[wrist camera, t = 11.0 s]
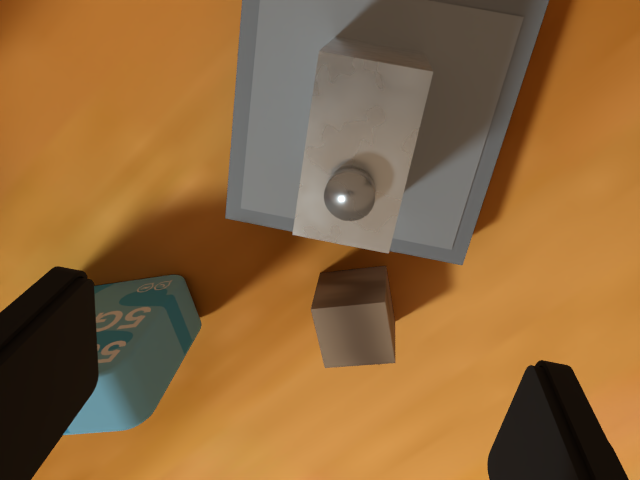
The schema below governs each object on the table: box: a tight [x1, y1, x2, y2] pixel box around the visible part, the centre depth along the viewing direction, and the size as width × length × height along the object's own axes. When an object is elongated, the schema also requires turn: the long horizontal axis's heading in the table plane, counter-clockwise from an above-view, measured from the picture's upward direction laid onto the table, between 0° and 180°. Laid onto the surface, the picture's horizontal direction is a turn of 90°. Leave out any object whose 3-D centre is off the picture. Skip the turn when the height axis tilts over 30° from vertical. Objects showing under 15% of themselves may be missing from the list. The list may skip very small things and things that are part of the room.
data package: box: [63, 275, 201, 435], centre depth 37 cm, size 12×4×12 cm, turn 103°
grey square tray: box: [225, 0, 549, 265], centre depth 32 cm, size 16×16×3 cm
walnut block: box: [311, 266, 395, 368], centre depth 37 cm, size 5×5×5 cm
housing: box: [292, 37, 433, 254], centre depth 27 cm, size 9×5×8 cm, turn 171°
